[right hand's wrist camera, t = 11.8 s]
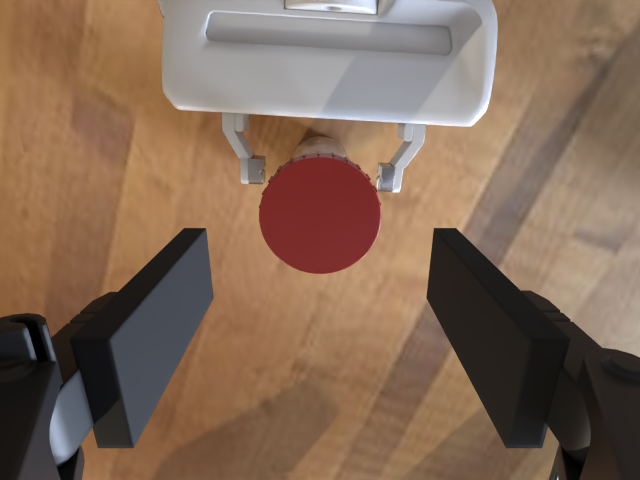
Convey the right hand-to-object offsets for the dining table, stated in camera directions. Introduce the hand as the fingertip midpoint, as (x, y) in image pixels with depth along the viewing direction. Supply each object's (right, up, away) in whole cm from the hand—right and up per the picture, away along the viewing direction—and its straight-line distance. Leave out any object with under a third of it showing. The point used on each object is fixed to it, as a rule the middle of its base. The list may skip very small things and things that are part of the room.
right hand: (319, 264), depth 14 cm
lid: (0, +2, +6) cm, 6 cm away
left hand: (0, +5, +14) cm, 14 cm away
